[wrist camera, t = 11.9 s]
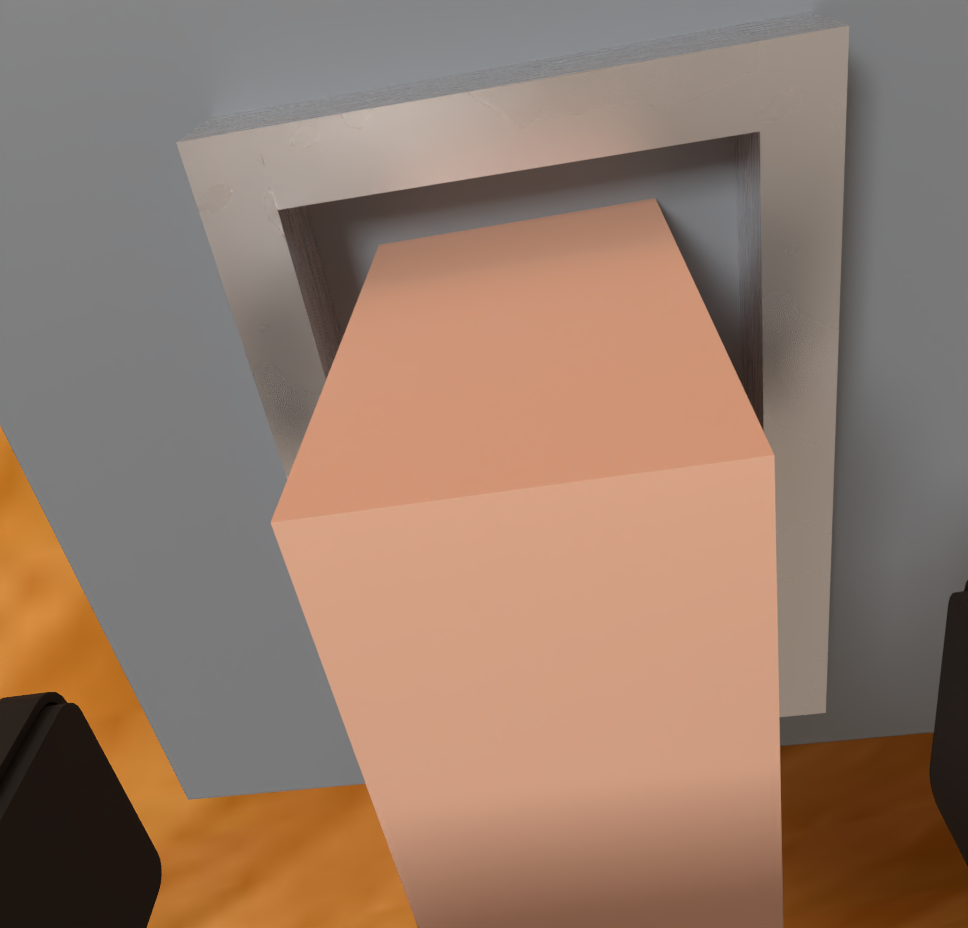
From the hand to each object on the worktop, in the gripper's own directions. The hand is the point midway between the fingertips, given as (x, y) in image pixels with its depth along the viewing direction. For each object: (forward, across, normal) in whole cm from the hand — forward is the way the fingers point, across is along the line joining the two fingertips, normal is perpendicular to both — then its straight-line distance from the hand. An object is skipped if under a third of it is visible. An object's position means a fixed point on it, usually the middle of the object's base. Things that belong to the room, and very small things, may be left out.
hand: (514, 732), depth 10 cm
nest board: (+7, -1, 0) cm, 7 cm away
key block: (+6, -1, 0) cm, 6 cm away
